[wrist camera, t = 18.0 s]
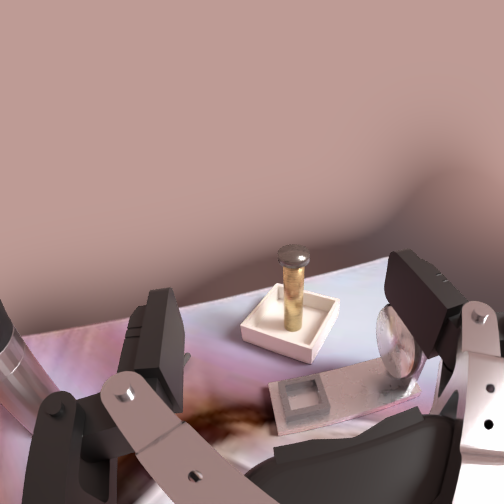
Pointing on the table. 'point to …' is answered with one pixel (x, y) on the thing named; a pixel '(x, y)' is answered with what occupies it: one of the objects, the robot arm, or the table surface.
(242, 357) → the table surface
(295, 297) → the lock pin
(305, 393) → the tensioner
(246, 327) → the parts tray
